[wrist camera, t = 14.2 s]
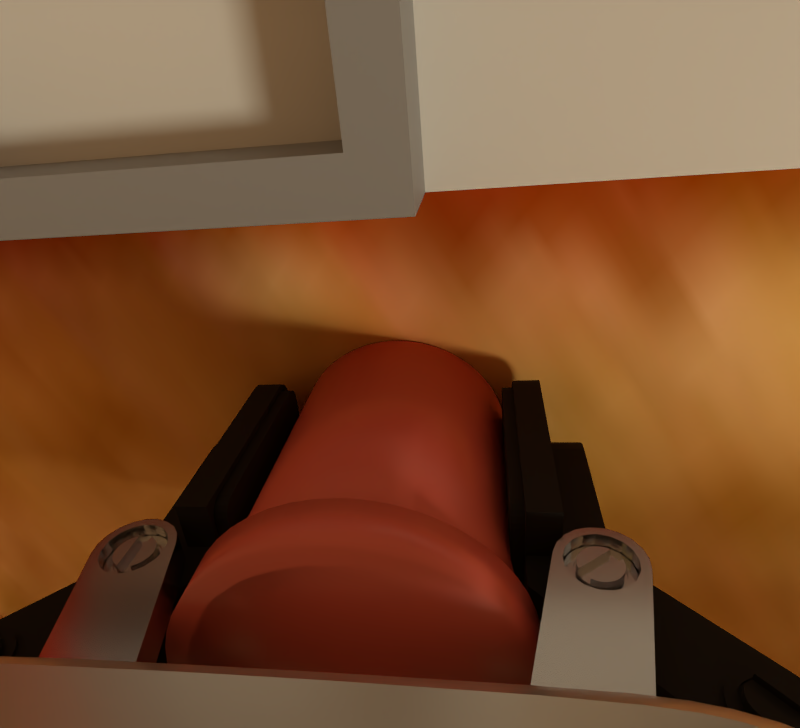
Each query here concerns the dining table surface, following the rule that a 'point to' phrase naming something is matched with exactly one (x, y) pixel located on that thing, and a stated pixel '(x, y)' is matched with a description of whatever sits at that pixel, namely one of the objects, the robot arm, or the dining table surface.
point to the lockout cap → (373, 536)
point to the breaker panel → (372, 104)
